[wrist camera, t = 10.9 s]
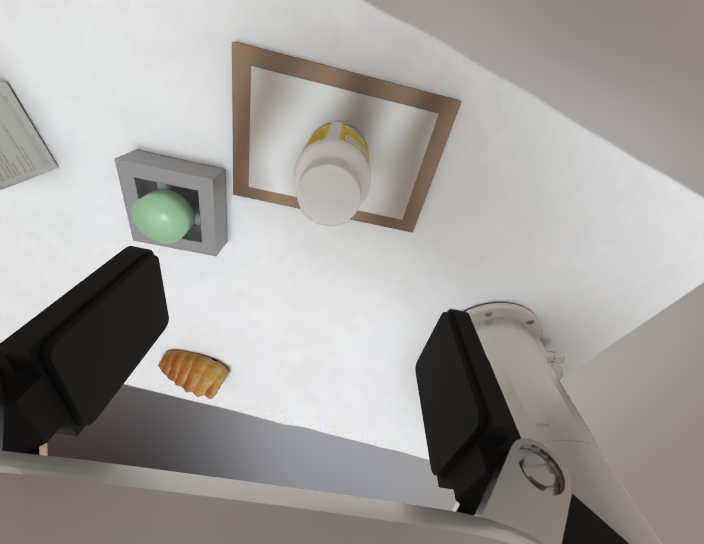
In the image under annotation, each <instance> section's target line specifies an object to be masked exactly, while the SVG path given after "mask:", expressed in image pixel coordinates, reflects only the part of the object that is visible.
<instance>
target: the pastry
mask: <svg viewBox="0 0 704 544" xmlns="http://www.w3.org/2000/svg"><path fill="white" fill-rule="evenodd" d="M158 366H159V367H160V369H161V371H162V372H163V373H164V374H165V375H167V377H168V379H170V380H172V381H174V382H175V384H176V385H177V386H181V387H182V388H184V390H185V392H193V393H194V394H195V395H196V396H197V397H200V396H203V395H205V396H206V397H207V398H209V399H212V398H213V397H214V396H215V395H216V394H217V392H218V390H219V389H220V387H221V385H222V384H223V382H224V381H225V379H226V377H227V376H228V375H229V372H228V370H227V369H226V368H225V366H224V365H223V364H222V363H221V362H219V361H218V362H216V361H214V360H212V358H210V357H207V356H204V355H200V354H196V353H192V352H188V351H183V350H178V351H176V350H171V351H168V352H166V353H165V354H164V356H163V357H162V359H161V361H160V362H159V364H158Z"/></svg>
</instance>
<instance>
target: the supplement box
mask: <svg viewBox="0 0 704 544" xmlns="http://www.w3.org/2000/svg"><path fill="white" fill-rule="evenodd" d="M56 168H58V166H57V165H56V163H55V161H54V160H53V158H52V157H51V155H50V153H49V152H48V150H47V148H46V147H45V145H44V143H43V142H42V140H41V138H40V137H39V135H38V134H37V132H36V130H35V129H34V127H33V125H32V124H31V122H30V120H29V119H28V117H27V115H26V114H25V112H24V110H23V109H22V107H21V105H20V104H19V102H18V100H17V99H16V97H15V96H14V94H13V92H12V91H11V89H10V87H9V86H8V84H7V82H5V81H0V190H2V189H5V188H7V187H10V186H13V185H15V184H18V183H21V182H23V181H26V180H28V179H31V178H33V177H36V176H38V175H41V174H43V173H46V172H48V171H51V170H53V169H56Z"/></svg>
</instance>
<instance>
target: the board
mask: <svg viewBox="0 0 704 544" xmlns="http://www.w3.org/2000/svg"><path fill="white" fill-rule="evenodd" d="M461 102H462V101H460V100H456V99H452V98H448V97H445V96H441V95H437V94H433V93H429V92H425V91H422V90H418V89H414V88H410V87H406V86H402V85H399V84H395V83H391V82H387V81H383V80H379V79H376V78H372V77H368V76H364V75H360V74H356V73H353V72H349V71H345V70H341V69H337V68H333V67H330V66H326V65H322V64H318V63H314V62H310V61H307V60H303V59H299V58H295V57H291V56H287V55H284V54H280V53H276V52H272V51H268V50H264V49H261V48H257V47H253V46H249V45H245V44H241V43H238V42H232V103H233V195H238V196H242V197H247V198H252V199H257V200H261V201H266V202H271V203H276V204H280V205H285V206H290V207H294V208H299V209H301V208H300V206H299V203H298V200H297V191H296V188H295V184H294V169H295V165H296V162H297V160H298V158H299V156H300V154H301V152H302V151H303V149H304V147H305V146H306V144H307V142H308V140H309V138H310V137H311V135H312V134H313V133H314V132H315V131H316V130H317V129H318V128H319V127H321V126H322V125H324V124H326V123H330V122H344V123H347V124H349V125H351V126H353V127H355V128H356V129H357V130H358V131H359V132H360V133H361V134H362V136H363V137H364V139H365V141H366V143H367V146H368V151H369V160H370V172H371V185H370V190H369V193H368V196H367V198H366V199H365V201H364V202H363V204H362V205H361V206H360V207H359V208H358V210H357V212H356V213H355V215H354V216H353V217H352V218H351V220H356V221H361V222H365V223H370V224H375V225H380V226H384V227H389V228H394V229H399V230H403V231H408V232H413V230H414V228H415V225H416V222H417V219H418V217H419V214H420V211H421V209H422V206H423V203H424V201H425V198H426V195H427V193H428V190H429V187H430V185H431V182H432V179H433V177H434V174H435V171H436V169H437V166H438V163H439V161H440V158H441V155H442V153H443V150H444V147H445V145H446V142H447V139H448V137H449V134H450V131H451V129H452V126H453V123H454V121H455V118H456V115H457V113H458V110H459V107H460V104H461Z"/></svg>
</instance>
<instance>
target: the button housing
mask: <svg viewBox="0 0 704 544" xmlns="http://www.w3.org/2000/svg"><path fill="white" fill-rule="evenodd" d="M115 163H116V167H117V171H118V176H119V180H120V185H121V189H122V193H123V198H124V202H125V206H126V211H127V215H128V220H129V224H130V228H131V233H132V237H133V241H139V242H144V243H149V244H154V245H160V246H165V247H170V248H175V249H181V250H186V251H191V252H196V253H202V254H207V255H212V256H217V255H218V253H219V252H220V251H221V249H222V248H223V247H224V245H225V244H226V243H227V216H226V175H225V169H222V168H217V167H213V166H208V165H204V164H199V163H195V162H190V161H185V160H181V159H176V158H172V157H167V156H163V155H158V154H153V153H149V152H144V151H140V150H135V151H132V152H130V153H127V154H125V155H122V156H120V157H117V158H115ZM156 182H159V183H164V184H169V185H173V186H178V187H183V188H188V189H193V190H197V191H198V195H199V208H200V220H201V226H198V225H193V227H192V228H191V229H190V230H189V231H188V232H187V233H186V234H185V235H184V236H183V237H182V238H181V239H180V240H179V241H177V242H175V243H170V244H165V243H159V242H156V241H154V240H152V239H150V238H148V237H147V236H145V235H144V234H143V233H142V232H141V231H140V230H139V229H138V228H137V226H136V225H135V223H134V221H133V219H132V214H131V210H132V206H133V204H134V203H135V202H136V201H137V200H139V199H140V198H142V197H143V196H145V195H147V194H148V193H150V192H151V191H153V190H156V189H157V186H156Z"/></svg>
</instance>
